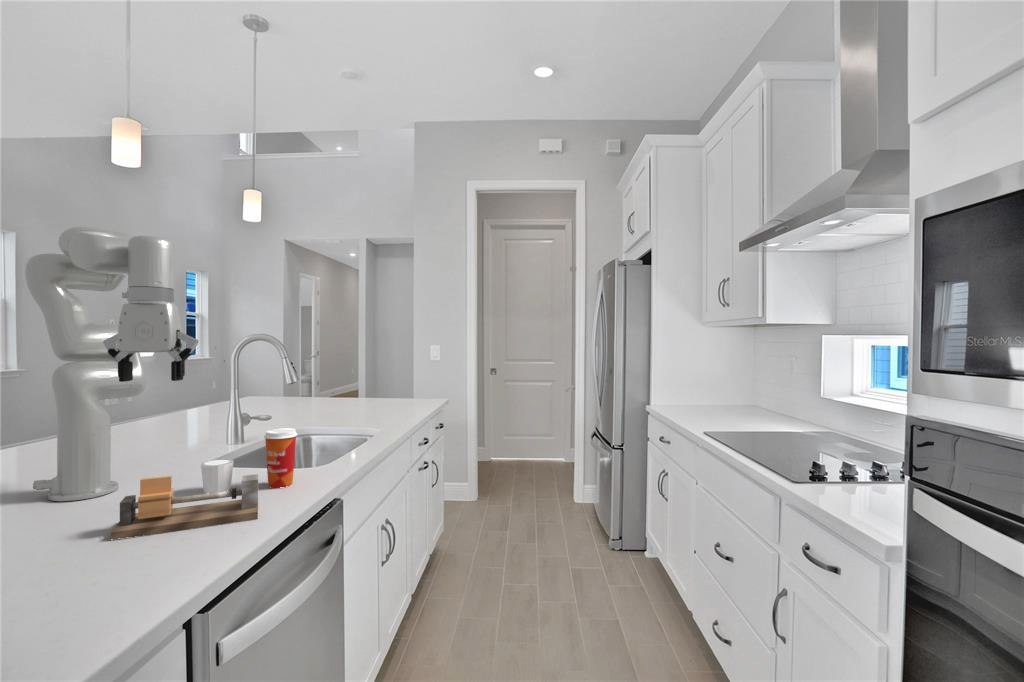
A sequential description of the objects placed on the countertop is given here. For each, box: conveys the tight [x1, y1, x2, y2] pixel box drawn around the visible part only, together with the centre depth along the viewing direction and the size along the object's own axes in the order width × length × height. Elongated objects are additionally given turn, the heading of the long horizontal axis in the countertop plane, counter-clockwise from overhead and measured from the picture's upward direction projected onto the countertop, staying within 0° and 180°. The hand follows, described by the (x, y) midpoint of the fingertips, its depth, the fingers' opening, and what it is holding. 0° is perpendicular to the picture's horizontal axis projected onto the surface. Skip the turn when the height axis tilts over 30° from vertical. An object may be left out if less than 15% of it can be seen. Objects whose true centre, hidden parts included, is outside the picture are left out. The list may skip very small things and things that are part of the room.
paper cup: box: [263, 427, 298, 489], centre depth 122 cm, size 8×8×14 cm
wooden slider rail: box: [110, 473, 259, 540], centre depth 98 cm, size 24×10×8 cm, turn 118°
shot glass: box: [200, 458, 234, 494], centre depth 117 cm, size 7×7×7 cm
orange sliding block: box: [137, 475, 174, 519], centre depth 95 cm, size 5×4×7 cm
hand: (151, 380), depth 98 cm, fingers open, 9 cm apart
